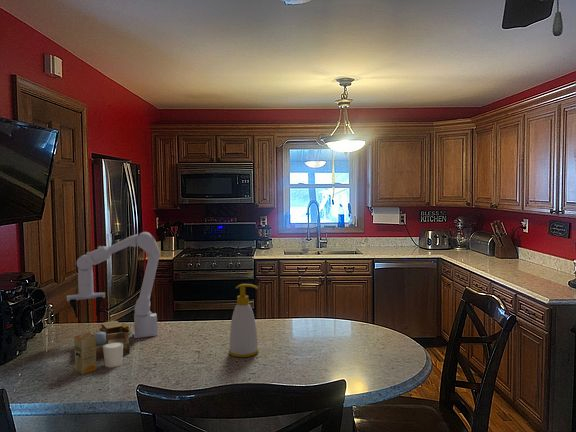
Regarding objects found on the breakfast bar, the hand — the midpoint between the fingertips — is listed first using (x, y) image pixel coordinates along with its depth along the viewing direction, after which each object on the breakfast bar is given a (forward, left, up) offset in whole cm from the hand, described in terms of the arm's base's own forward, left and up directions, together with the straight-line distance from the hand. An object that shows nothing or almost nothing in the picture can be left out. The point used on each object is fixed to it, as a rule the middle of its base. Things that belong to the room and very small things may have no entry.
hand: (87, 316), depth 190 cm
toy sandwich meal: (-10, -3, -10) cm, 15 cm away
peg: (-5, +14, -10) cm, 18 cm away
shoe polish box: (0, +36, -10) cm, 37 cm away
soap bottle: (-55, +42, -10) cm, 70 cm away
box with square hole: (-6, +17, -10) cm, 21 cm away
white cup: (-9, +34, -10) cm, 37 cm away
